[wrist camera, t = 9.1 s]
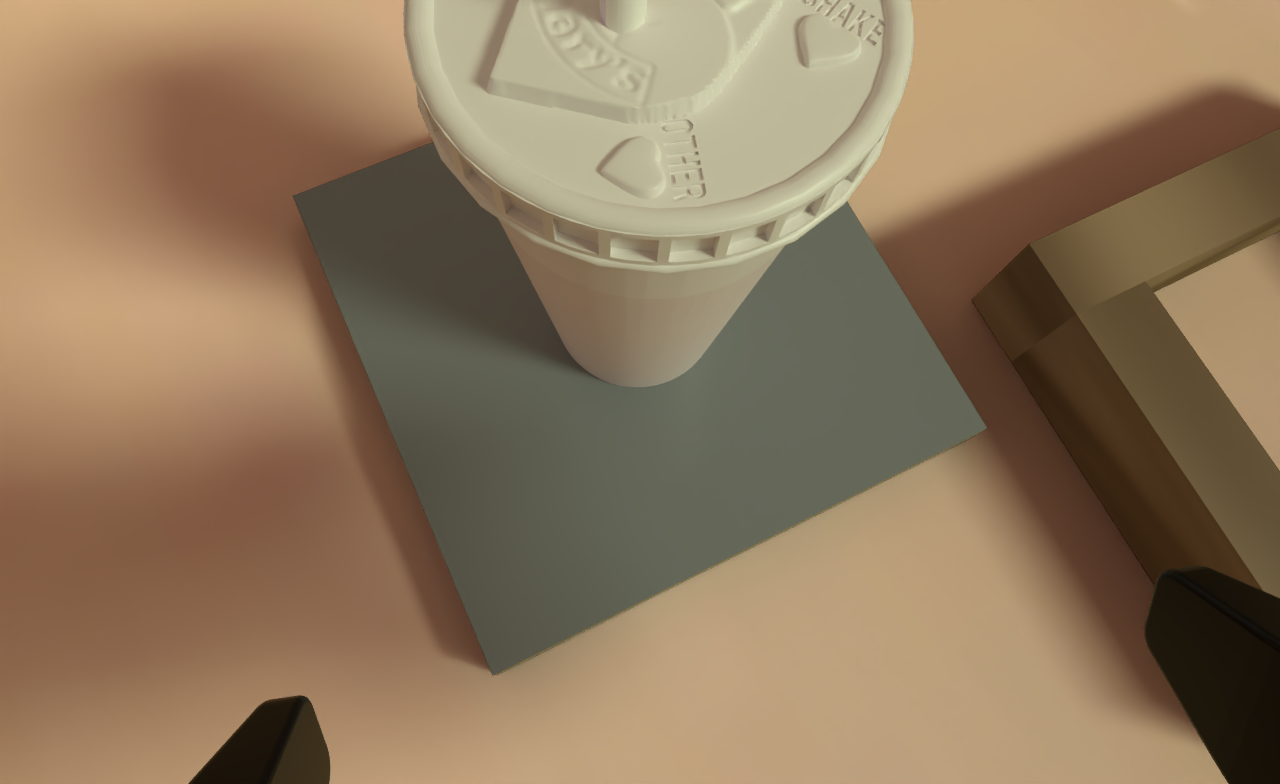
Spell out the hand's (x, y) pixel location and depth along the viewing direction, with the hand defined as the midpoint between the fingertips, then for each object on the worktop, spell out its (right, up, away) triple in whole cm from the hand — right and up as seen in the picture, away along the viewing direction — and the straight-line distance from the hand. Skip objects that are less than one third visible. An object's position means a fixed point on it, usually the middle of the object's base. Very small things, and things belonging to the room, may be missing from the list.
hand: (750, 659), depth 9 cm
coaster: (-1, +4, +12) cm, 13 cm away
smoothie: (-1, +5, +11) cm, 12 cm away
